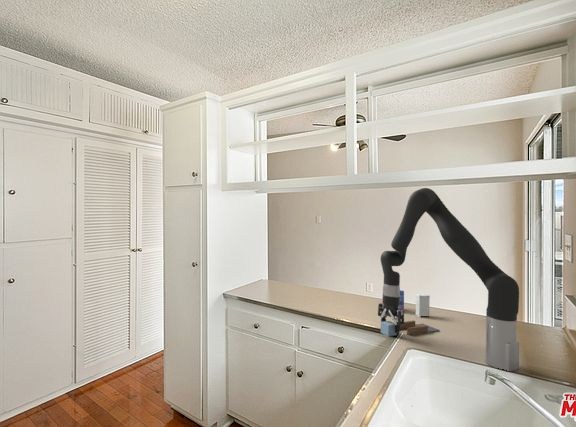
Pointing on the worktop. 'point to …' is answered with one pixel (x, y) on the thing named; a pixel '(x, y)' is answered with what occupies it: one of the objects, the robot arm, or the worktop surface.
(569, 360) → the worktop surface
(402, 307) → the ink cartridge box
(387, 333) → the block
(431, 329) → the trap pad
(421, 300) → the skincare box
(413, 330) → the channel
